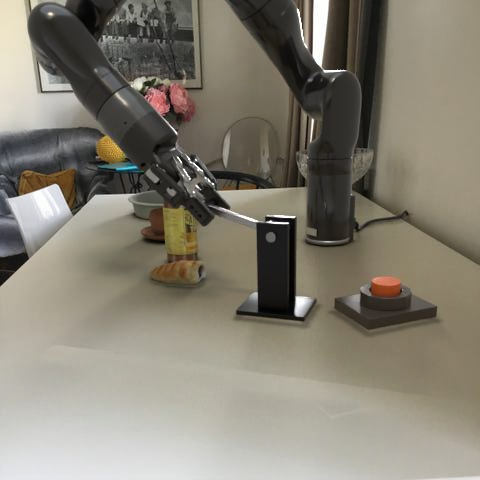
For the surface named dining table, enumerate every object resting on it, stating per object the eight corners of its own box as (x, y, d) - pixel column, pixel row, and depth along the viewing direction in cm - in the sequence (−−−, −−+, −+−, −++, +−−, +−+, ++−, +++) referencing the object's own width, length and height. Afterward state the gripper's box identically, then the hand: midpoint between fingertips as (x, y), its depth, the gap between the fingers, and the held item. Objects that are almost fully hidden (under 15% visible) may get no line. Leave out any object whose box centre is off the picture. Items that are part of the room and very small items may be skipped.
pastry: (145, 286, 96) (143, 264, 95) (158, 274, 102) (157, 254, 101) (198, 289, 94) (197, 266, 93) (209, 276, 100) (208, 255, 99)
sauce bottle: (193, 265, 107) (187, 156, 99) (162, 264, 108) (153, 156, 100) (202, 256, 113) (197, 152, 105) (172, 255, 114) (165, 152, 106)
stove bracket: (236, 318, 82) (232, 224, 76) (253, 300, 88) (251, 212, 83) (303, 326, 78) (305, 227, 73) (316, 306, 85) (318, 215, 80)
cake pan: (218, 220, 142) (217, 202, 140) (121, 223, 143) (119, 205, 141) (222, 202, 165) (221, 186, 163) (138, 204, 165) (137, 189, 164)
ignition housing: (397, 300, 86) (399, 275, 85) (436, 321, 79) (439, 293, 77) (333, 312, 83) (334, 286, 81) (368, 334, 75) (370, 306, 73)
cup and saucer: (131, 242, 124) (128, 214, 122) (158, 230, 135) (156, 204, 132) (179, 246, 120) (177, 217, 118) (203, 233, 130) (202, 206, 128)
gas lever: (191, 217, 79) (195, 200, 78) (207, 209, 84) (210, 194, 83) (278, 248, 77) (283, 232, 76) (288, 238, 81) (293, 223, 80)
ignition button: (389, 286, 82) (389, 275, 81) (406, 295, 78) (407, 283, 78) (365, 290, 80) (365, 278, 80) (381, 299, 77) (382, 287, 76)
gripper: (126, 111, 72) (216, 210, 73) (175, 106, 85) (251, 191, 85) (95, 153, 76) (181, 247, 77) (146, 143, 88) (220, 223, 89)
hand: (217, 217), depth 81 cm, fingers closed on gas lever, 5 cm apart
